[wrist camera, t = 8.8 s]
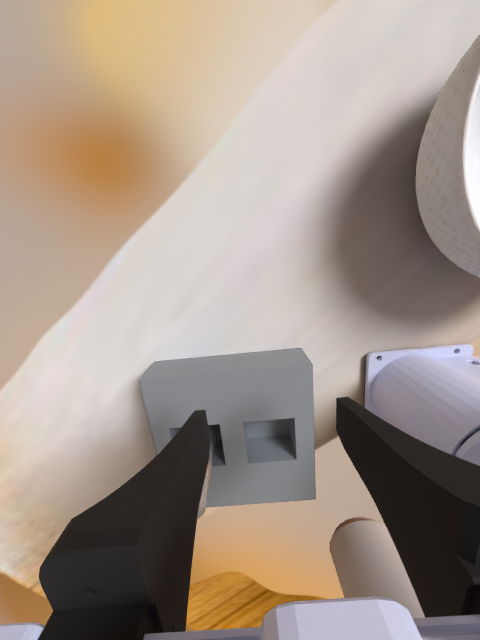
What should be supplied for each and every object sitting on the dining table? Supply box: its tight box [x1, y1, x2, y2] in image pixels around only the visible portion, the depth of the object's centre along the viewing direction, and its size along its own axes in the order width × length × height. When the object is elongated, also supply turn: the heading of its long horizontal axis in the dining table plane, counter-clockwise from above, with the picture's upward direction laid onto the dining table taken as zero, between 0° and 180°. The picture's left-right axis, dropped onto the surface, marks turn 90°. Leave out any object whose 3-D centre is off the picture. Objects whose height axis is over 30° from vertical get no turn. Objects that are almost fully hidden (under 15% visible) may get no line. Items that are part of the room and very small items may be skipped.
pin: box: [197, 424, 218, 519], centre depth 19 cm, size 3×3×8 cm
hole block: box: [139, 348, 316, 507], centre depth 22 cm, size 14×14×4 cm
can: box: [330, 517, 425, 618], centre depth 22 cm, size 8×8×12 cm
